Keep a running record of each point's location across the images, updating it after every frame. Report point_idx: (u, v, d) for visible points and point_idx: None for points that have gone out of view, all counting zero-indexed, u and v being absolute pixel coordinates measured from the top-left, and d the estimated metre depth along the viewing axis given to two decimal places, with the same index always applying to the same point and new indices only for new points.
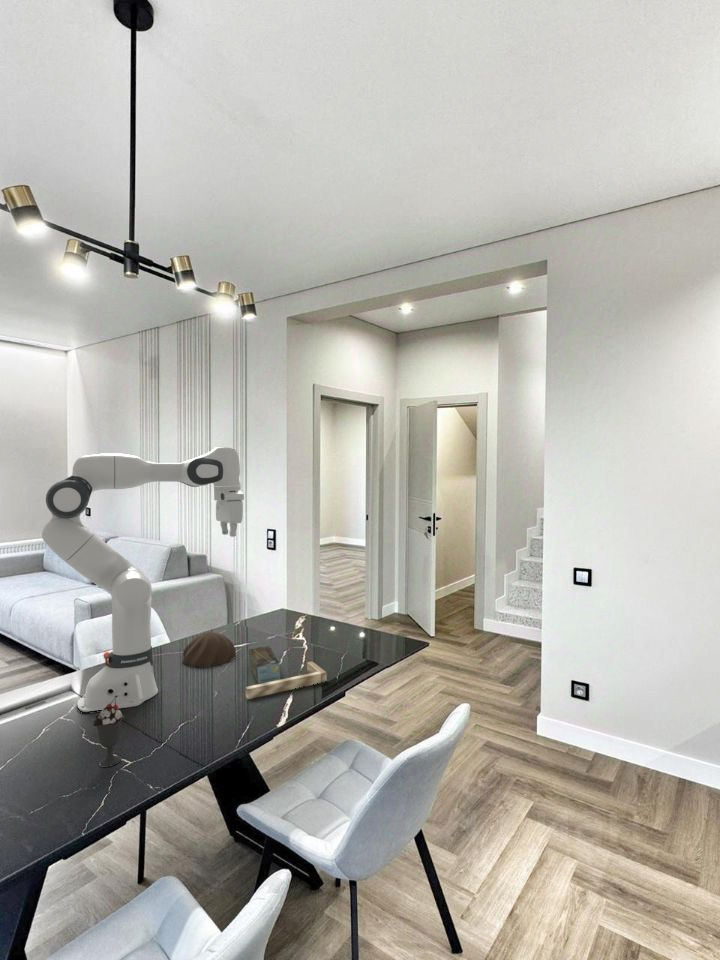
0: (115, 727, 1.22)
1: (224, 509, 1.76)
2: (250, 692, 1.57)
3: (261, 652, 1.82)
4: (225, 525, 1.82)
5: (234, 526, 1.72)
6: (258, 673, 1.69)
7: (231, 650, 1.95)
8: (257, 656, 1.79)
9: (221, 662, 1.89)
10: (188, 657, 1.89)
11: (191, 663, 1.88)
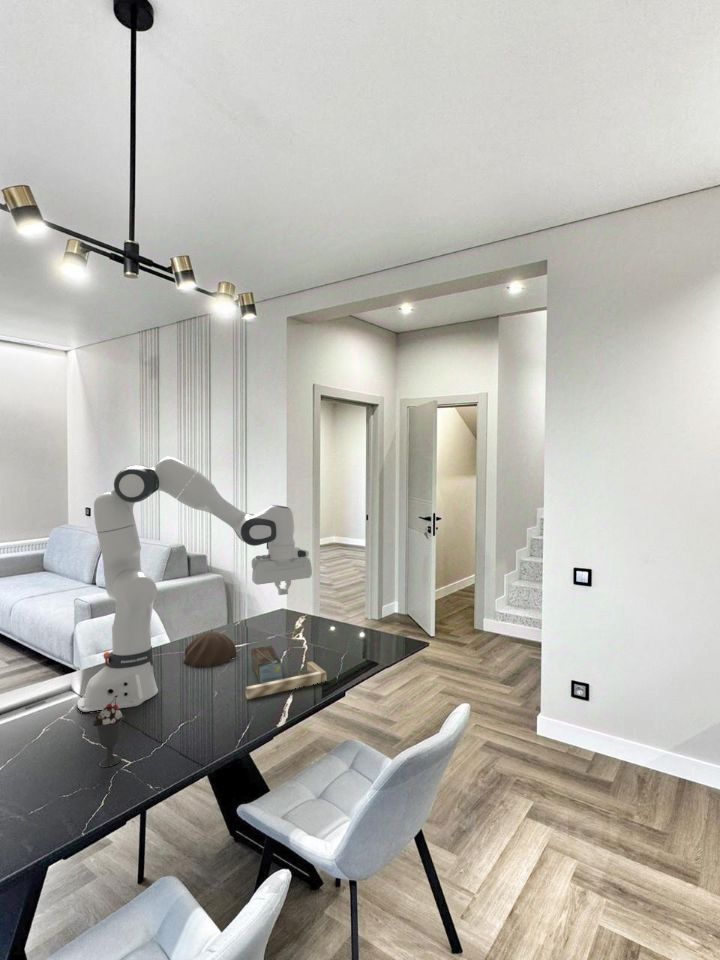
0: (115, 727, 1.22)
1: (287, 567, 1.74)
2: (250, 692, 1.57)
3: (263, 652, 1.82)
4: None
5: None
6: (260, 673, 1.69)
7: (232, 650, 1.95)
8: (259, 656, 1.79)
9: (221, 662, 1.89)
10: (189, 656, 1.89)
11: (191, 663, 1.88)
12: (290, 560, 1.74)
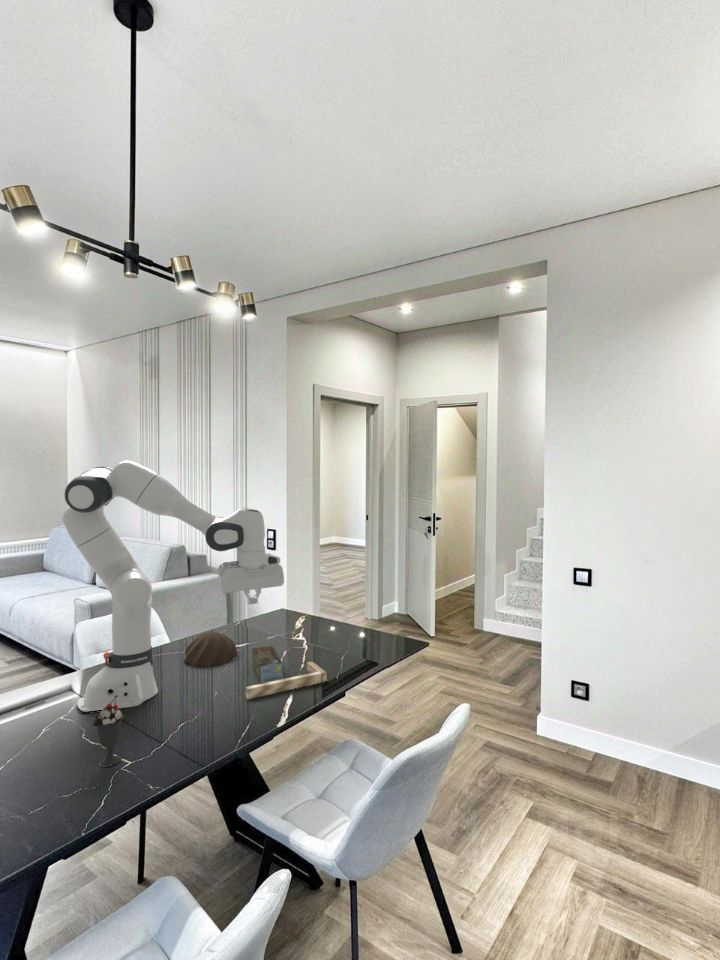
0: (115, 727, 1.22)
1: (256, 575, 1.63)
2: (250, 692, 1.57)
3: (264, 652, 1.82)
4: None
5: None
6: (261, 673, 1.69)
7: (232, 650, 1.95)
8: (260, 656, 1.79)
9: (222, 662, 1.89)
10: (189, 656, 1.89)
11: (192, 663, 1.88)
12: (260, 567, 1.63)
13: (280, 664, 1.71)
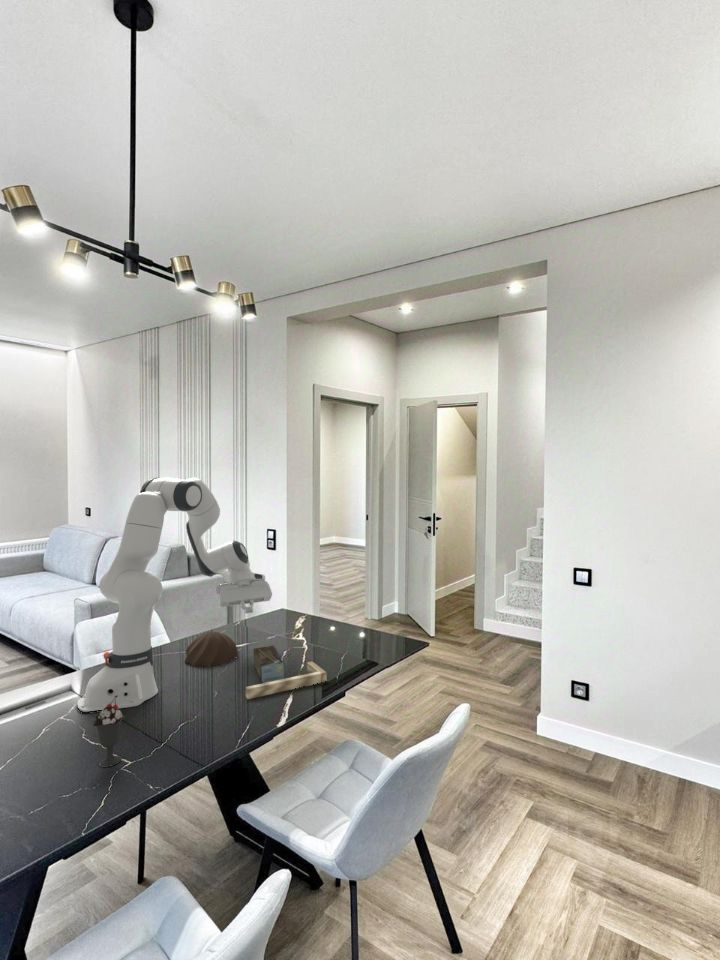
0: (115, 727, 1.22)
1: (248, 589, 2.02)
2: (250, 692, 1.57)
3: (265, 651, 1.82)
4: None
5: (253, 603, 2.01)
6: (262, 672, 1.70)
7: (233, 650, 1.95)
8: (261, 655, 1.79)
9: (222, 662, 1.89)
10: (190, 656, 1.90)
11: (192, 662, 1.88)
12: (249, 583, 2.04)
13: (281, 664, 1.71)
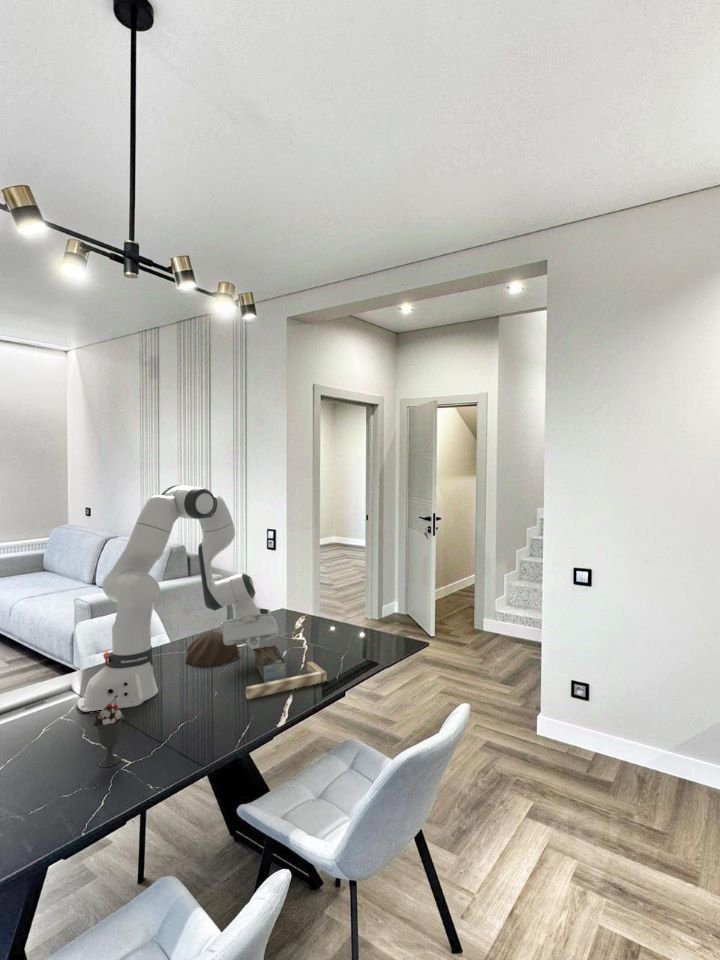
0: (115, 727, 1.22)
1: (253, 626, 1.93)
2: (250, 692, 1.57)
3: (267, 651, 1.82)
4: None
5: (259, 641, 1.91)
6: (264, 672, 1.70)
7: (233, 650, 1.95)
8: (263, 655, 1.79)
9: (222, 662, 1.89)
10: (190, 656, 1.90)
11: (192, 662, 1.89)
12: (255, 618, 1.94)
13: (283, 664, 1.72)
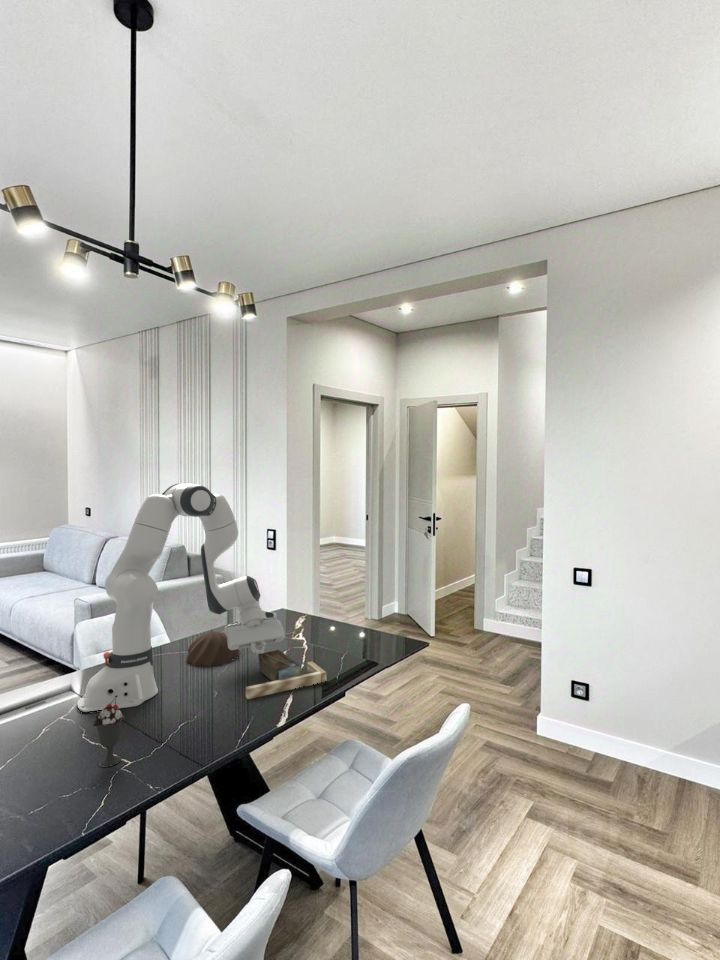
0: (115, 727, 1.22)
1: (258, 630, 1.87)
2: (250, 692, 1.57)
3: (274, 656, 1.77)
4: None
5: None
6: (280, 677, 1.65)
7: (234, 650, 1.95)
8: (272, 660, 1.74)
9: (222, 662, 1.89)
10: (191, 655, 1.90)
11: (193, 662, 1.89)
12: (260, 622, 1.89)
13: (298, 667, 1.68)
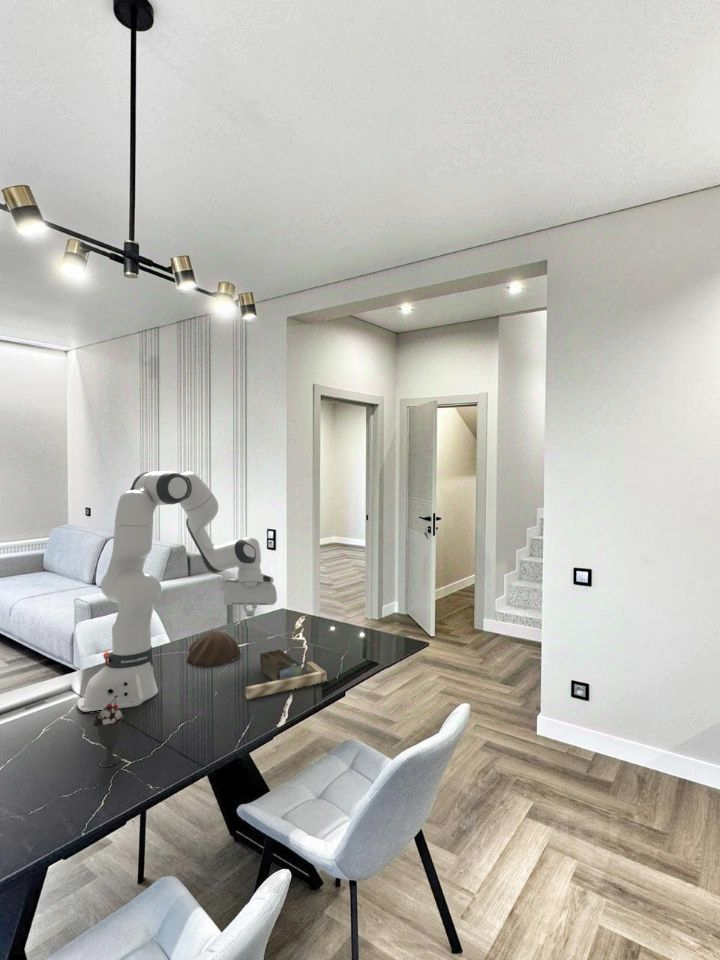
0: (115, 727, 1.22)
1: (253, 591, 1.96)
2: (250, 692, 1.57)
3: (275, 656, 1.77)
4: None
5: None
6: (281, 677, 1.65)
7: (234, 650, 1.95)
8: (273, 660, 1.74)
9: (222, 662, 1.89)
10: (191, 655, 1.90)
11: (193, 662, 1.89)
12: (256, 584, 1.96)
13: (299, 667, 1.68)
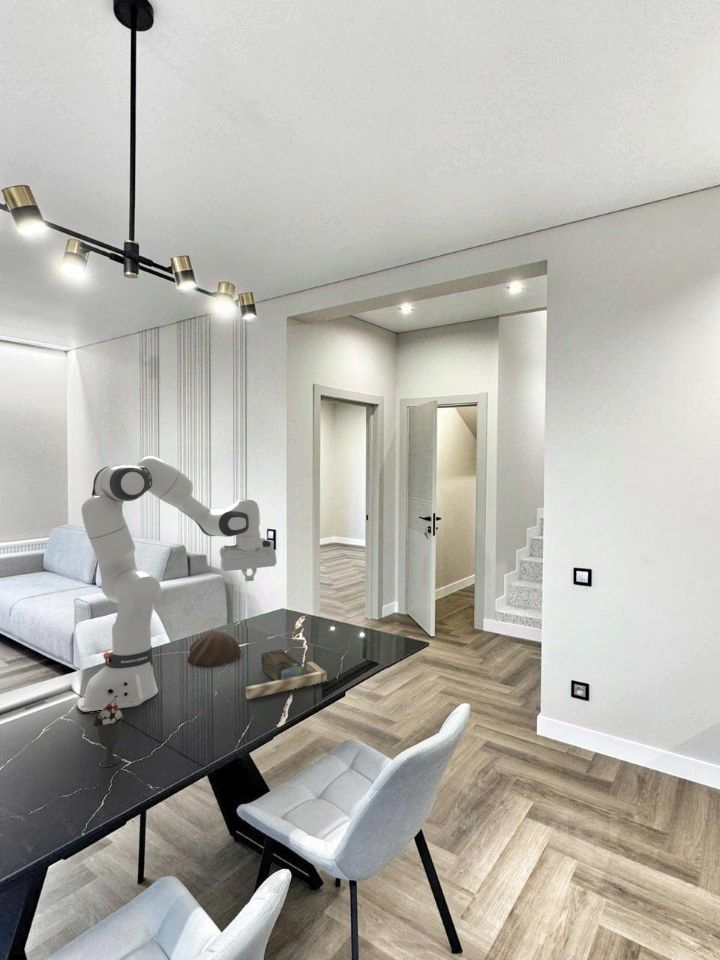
0: (115, 727, 1.22)
1: (252, 556, 1.91)
2: (250, 692, 1.57)
3: (277, 655, 1.78)
4: (244, 572, 1.92)
5: None
6: (282, 677, 1.65)
7: (235, 650, 1.95)
8: (275, 660, 1.74)
9: (222, 662, 1.89)
10: (192, 655, 1.91)
11: (194, 662, 1.89)
12: (256, 549, 1.91)
13: (300, 667, 1.68)
